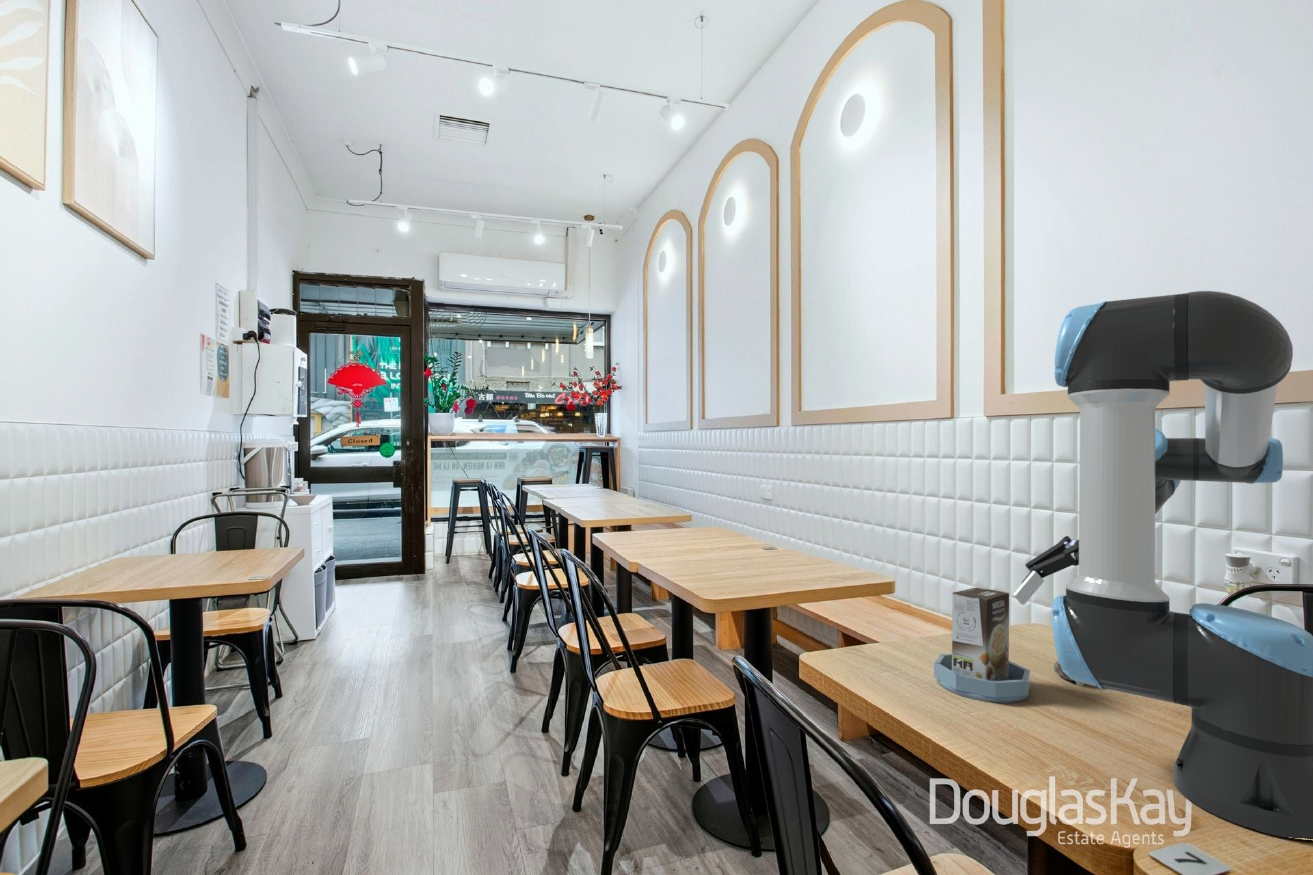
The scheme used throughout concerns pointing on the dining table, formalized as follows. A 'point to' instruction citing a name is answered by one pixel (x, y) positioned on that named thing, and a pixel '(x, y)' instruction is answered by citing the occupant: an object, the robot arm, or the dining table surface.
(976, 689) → the slate bowl
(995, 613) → the coffee box
